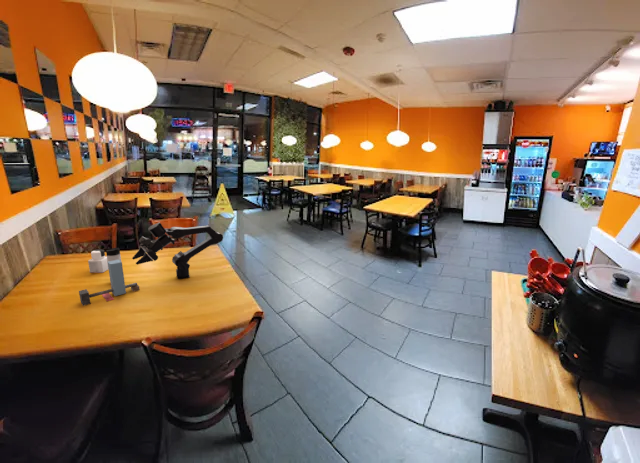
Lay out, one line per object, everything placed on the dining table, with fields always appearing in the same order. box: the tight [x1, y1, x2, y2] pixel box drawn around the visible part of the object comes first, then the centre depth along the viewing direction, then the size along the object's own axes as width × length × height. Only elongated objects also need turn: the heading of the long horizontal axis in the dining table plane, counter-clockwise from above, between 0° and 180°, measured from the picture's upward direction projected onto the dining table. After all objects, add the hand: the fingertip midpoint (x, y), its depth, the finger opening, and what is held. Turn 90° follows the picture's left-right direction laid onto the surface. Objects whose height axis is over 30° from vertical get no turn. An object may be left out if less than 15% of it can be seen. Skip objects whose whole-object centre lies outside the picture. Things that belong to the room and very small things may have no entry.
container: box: [87, 248, 109, 273], centre depth 177 cm, size 8×8×13 cm
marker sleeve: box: [108, 260, 127, 297], centre depth 149 cm, size 5×5×18 cm
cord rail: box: [78, 282, 140, 307], centre depth 148 cm, size 24×10×6 cm, turn 138°
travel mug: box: [105, 247, 122, 262], centre depth 162 cm, size 6×7×20 cm
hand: (134, 261), depth 156 cm, fingers open, 9 cm apart
